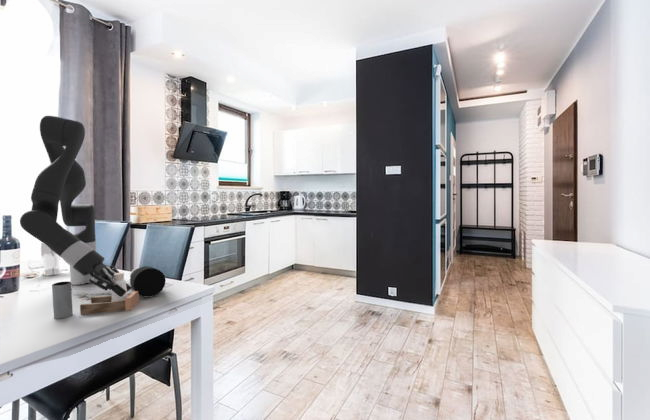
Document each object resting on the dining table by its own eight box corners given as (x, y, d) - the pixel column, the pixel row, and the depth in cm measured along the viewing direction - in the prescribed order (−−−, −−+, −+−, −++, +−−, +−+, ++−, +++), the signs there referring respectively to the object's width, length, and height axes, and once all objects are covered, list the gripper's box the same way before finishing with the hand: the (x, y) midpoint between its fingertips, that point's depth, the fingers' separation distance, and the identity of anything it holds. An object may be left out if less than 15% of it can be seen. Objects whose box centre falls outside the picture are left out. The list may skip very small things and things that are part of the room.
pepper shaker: (115, 310, 102) (113, 276, 102) (107, 306, 105) (105, 274, 105) (132, 305, 107) (131, 272, 106) (124, 302, 110) (123, 270, 109)
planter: (54, 315, 99) (52, 283, 99) (72, 312, 102) (71, 280, 101) (53, 320, 96) (51, 286, 95) (72, 316, 98) (70, 283, 98)
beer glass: (38, 276, 147) (36, 243, 146) (50, 272, 154) (48, 241, 153) (54, 275, 147) (52, 243, 146) (65, 271, 154) (63, 241, 153)
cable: (142, 288, 142) (153, 266, 145) (157, 300, 115) (170, 273, 118) (118, 281, 136) (129, 258, 140) (128, 292, 110) (141, 264, 113)
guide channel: (80, 314, 100) (79, 301, 100) (92, 305, 108) (91, 294, 107) (130, 310, 103) (130, 298, 103) (138, 302, 111) (138, 290, 111)
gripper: (80, 253, 96) (127, 290, 100) (101, 245, 110) (141, 278, 114) (61, 272, 95) (108, 308, 99) (84, 261, 109) (125, 294, 113)
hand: (126, 292), depth 106 cm, fingers closed on pepper shaker, 4 cm apart
